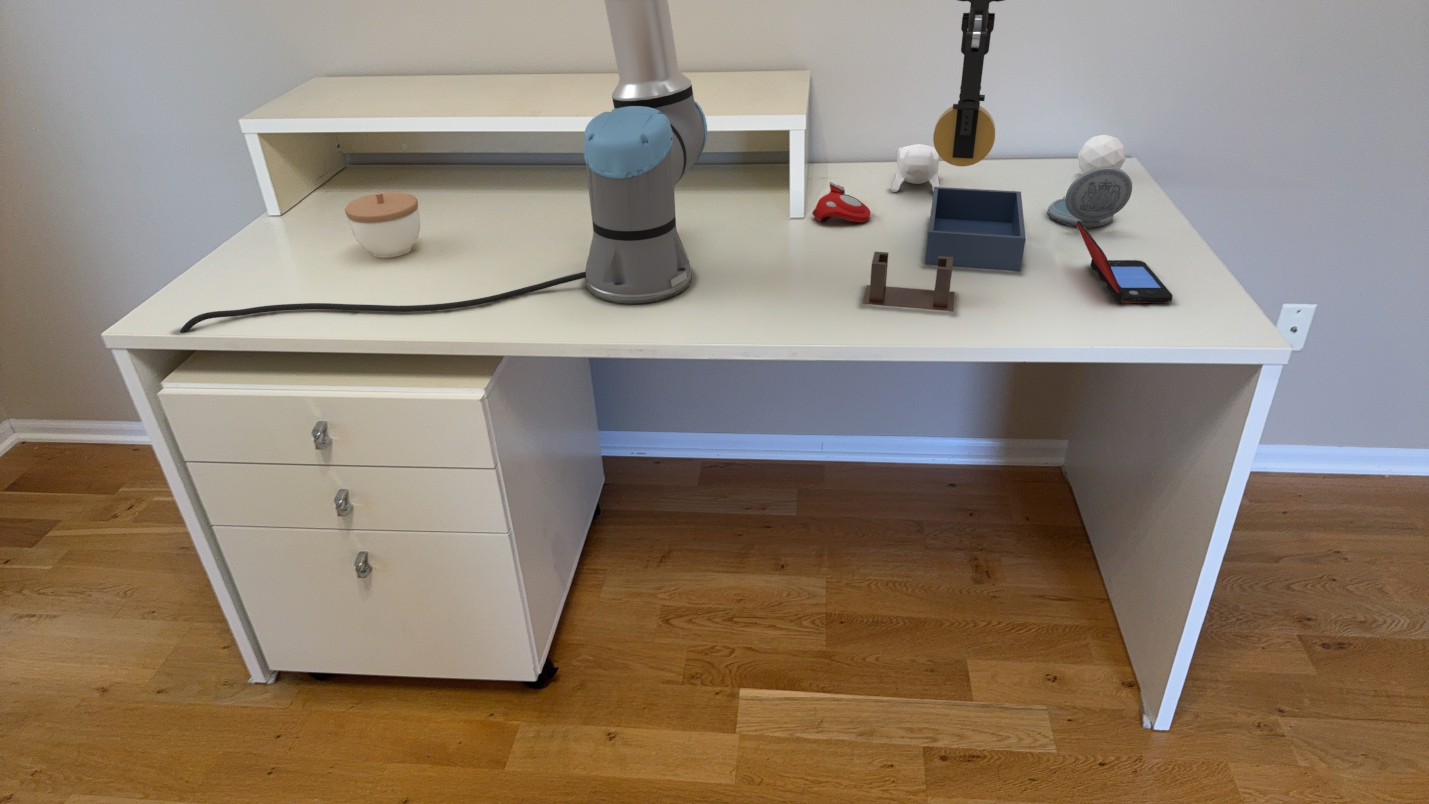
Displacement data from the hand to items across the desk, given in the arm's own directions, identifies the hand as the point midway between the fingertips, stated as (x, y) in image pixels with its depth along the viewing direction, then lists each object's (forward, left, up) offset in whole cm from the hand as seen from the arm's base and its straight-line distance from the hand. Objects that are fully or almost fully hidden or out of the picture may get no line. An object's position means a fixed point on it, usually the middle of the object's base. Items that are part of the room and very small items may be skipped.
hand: (963, 153), depth 124 cm
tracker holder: (-2, +26, -17) cm, 31 cm away
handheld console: (+16, -16, -17) cm, 29 cm away
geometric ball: (+47, +18, -17) cm, 53 cm away
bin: (+8, +5, -17) cm, 19 cm away
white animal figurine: (+16, +30, -17) cm, 38 cm away
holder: (-12, -6, -17) cm, 21 cm away
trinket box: (-72, +48, -17) cm, 88 cm away
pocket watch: (+30, +5, -17) cm, 35 cm away
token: (0, 0, -1) cm, 1 cm away
